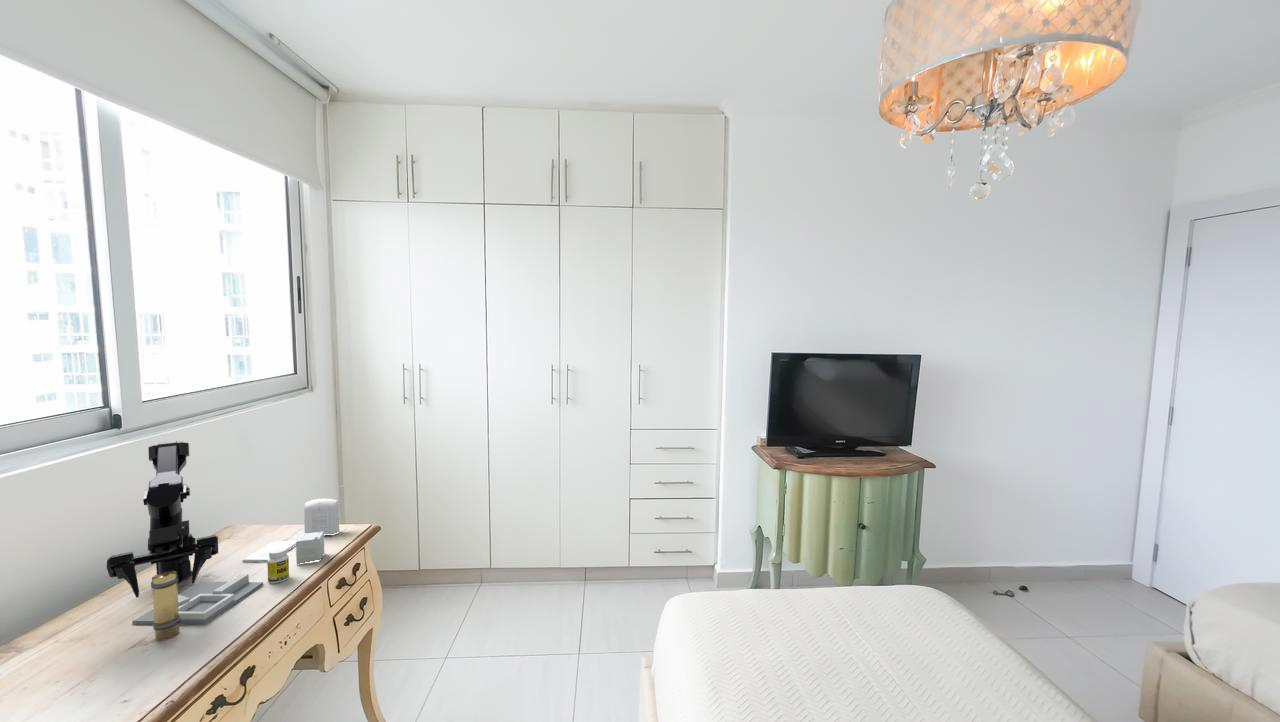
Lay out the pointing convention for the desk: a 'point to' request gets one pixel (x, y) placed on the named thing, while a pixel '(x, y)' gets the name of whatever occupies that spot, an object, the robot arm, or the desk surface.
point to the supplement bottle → (278, 565)
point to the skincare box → (309, 547)
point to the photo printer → (321, 516)
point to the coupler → (165, 605)
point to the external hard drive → (264, 552)
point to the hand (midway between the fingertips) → (165, 589)
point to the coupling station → (207, 600)
